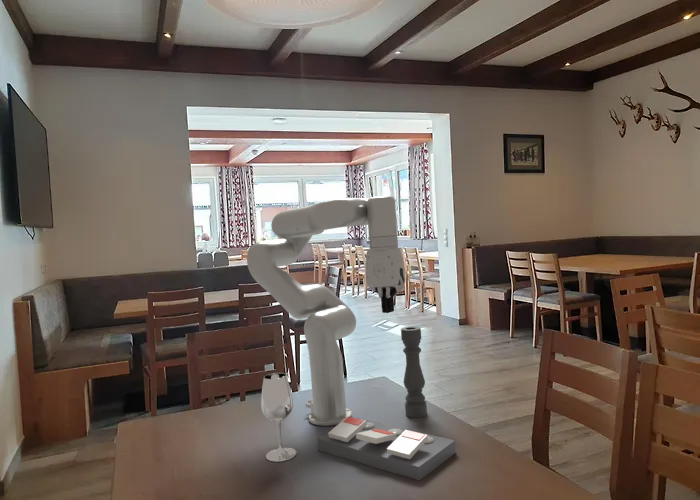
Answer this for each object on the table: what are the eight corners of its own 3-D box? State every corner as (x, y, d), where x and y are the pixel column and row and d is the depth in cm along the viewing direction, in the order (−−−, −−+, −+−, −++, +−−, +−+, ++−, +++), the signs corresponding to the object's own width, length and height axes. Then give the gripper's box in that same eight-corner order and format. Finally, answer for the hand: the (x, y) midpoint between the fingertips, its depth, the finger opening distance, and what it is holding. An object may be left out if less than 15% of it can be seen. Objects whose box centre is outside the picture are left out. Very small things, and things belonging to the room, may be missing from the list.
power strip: (305, 446, 136) (304, 433, 136) (345, 425, 148) (344, 413, 148) (419, 480, 113) (418, 465, 113) (455, 452, 126) (454, 439, 126)
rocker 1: (329, 437, 132) (328, 432, 131) (348, 420, 138) (347, 415, 137) (347, 442, 128) (346, 437, 127) (366, 424, 134) (365, 420, 133)
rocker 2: (355, 438, 126) (356, 432, 126) (376, 433, 132) (376, 428, 132) (376, 443, 122) (376, 437, 122) (396, 438, 128) (396, 433, 128)
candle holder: (426, 418, 149) (420, 330, 148) (404, 417, 150) (398, 331, 149) (427, 410, 155) (422, 326, 154) (406, 410, 157) (401, 326, 155)
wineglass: (302, 449, 134) (296, 371, 133) (288, 463, 126) (282, 381, 125) (274, 447, 136) (268, 371, 135) (259, 460, 129) (253, 380, 128)
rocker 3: (387, 453, 120) (386, 448, 120) (406, 434, 126) (405, 429, 126) (409, 459, 116) (408, 453, 116) (428, 439, 122) (427, 434, 122)
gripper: (352, 245, 141) (357, 313, 142) (398, 243, 132) (403, 316, 132) (369, 243, 147) (374, 308, 148) (415, 241, 137) (419, 311, 138)
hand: (388, 312), depth 140 cm, fingers closed
